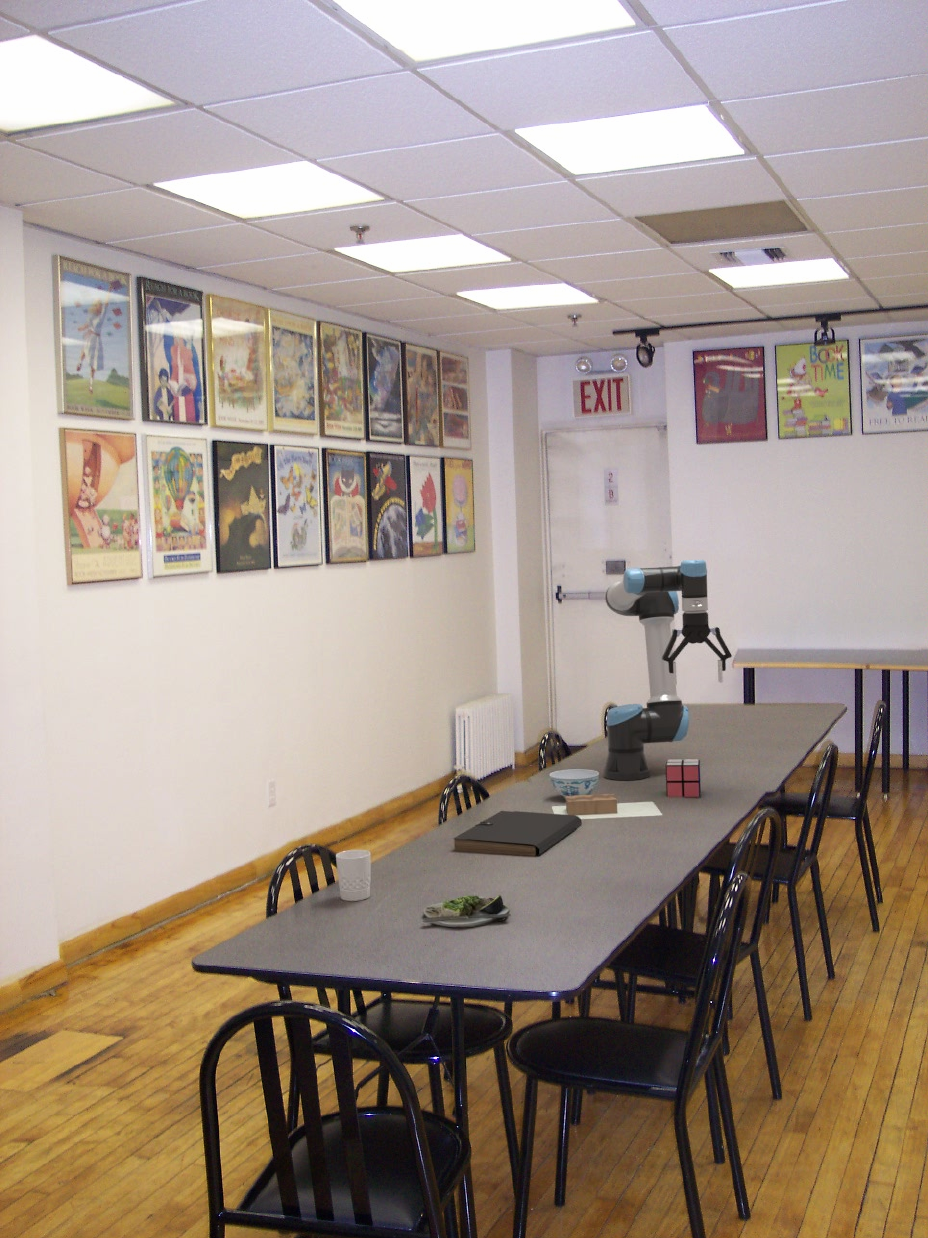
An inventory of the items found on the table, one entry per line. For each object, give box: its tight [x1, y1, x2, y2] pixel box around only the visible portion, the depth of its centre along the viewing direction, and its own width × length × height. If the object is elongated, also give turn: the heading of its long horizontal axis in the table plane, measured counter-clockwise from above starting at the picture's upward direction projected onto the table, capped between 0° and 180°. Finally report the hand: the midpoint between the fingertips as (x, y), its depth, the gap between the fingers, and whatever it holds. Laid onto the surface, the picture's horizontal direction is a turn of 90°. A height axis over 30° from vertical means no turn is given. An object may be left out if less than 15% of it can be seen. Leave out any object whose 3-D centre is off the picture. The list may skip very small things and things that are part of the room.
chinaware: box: [549, 768, 600, 800], centre depth 374 cm, size 15×15×8 cm
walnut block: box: [565, 793, 618, 815], centre depth 354 cm, size 8×4×14 cm
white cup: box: [335, 849, 372, 902], centre depth 280 cm, size 8×8×10 cm
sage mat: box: [551, 801, 663, 820], centre depth 354 cm, size 18×30×1 cm, turn 90°
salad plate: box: [422, 894, 511, 929], centre depth 261 cm, size 19×18×5 cm
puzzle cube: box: [665, 758, 702, 798], centre depth 373 cm, size 10×10×10 cm
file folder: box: [452, 810, 583, 857], centre depth 328 cm, size 33×4×24 cm
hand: (697, 683), depth 364 cm, fingers open, 13 cm apart
